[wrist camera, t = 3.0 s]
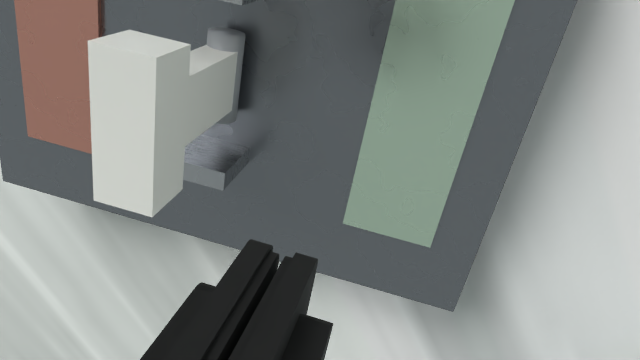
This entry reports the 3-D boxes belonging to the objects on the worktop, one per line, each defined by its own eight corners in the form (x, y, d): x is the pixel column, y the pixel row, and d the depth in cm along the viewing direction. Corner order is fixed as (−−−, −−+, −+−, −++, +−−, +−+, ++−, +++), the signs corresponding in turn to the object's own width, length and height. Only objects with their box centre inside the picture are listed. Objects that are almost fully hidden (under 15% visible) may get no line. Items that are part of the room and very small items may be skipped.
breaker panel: (55, 152, 37) (-45, 205, 30) (28, -208, 27) (-133, -268, 20) (452, 263, 34) (454, 356, 26) (590, -105, 24) (659, -130, 16)
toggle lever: (204, 120, 27) (93, 200, 19) (212, 7, 24) (87, 40, 16) (245, 131, 27) (152, 217, 18) (258, 18, 24) (156, 57, 16)
